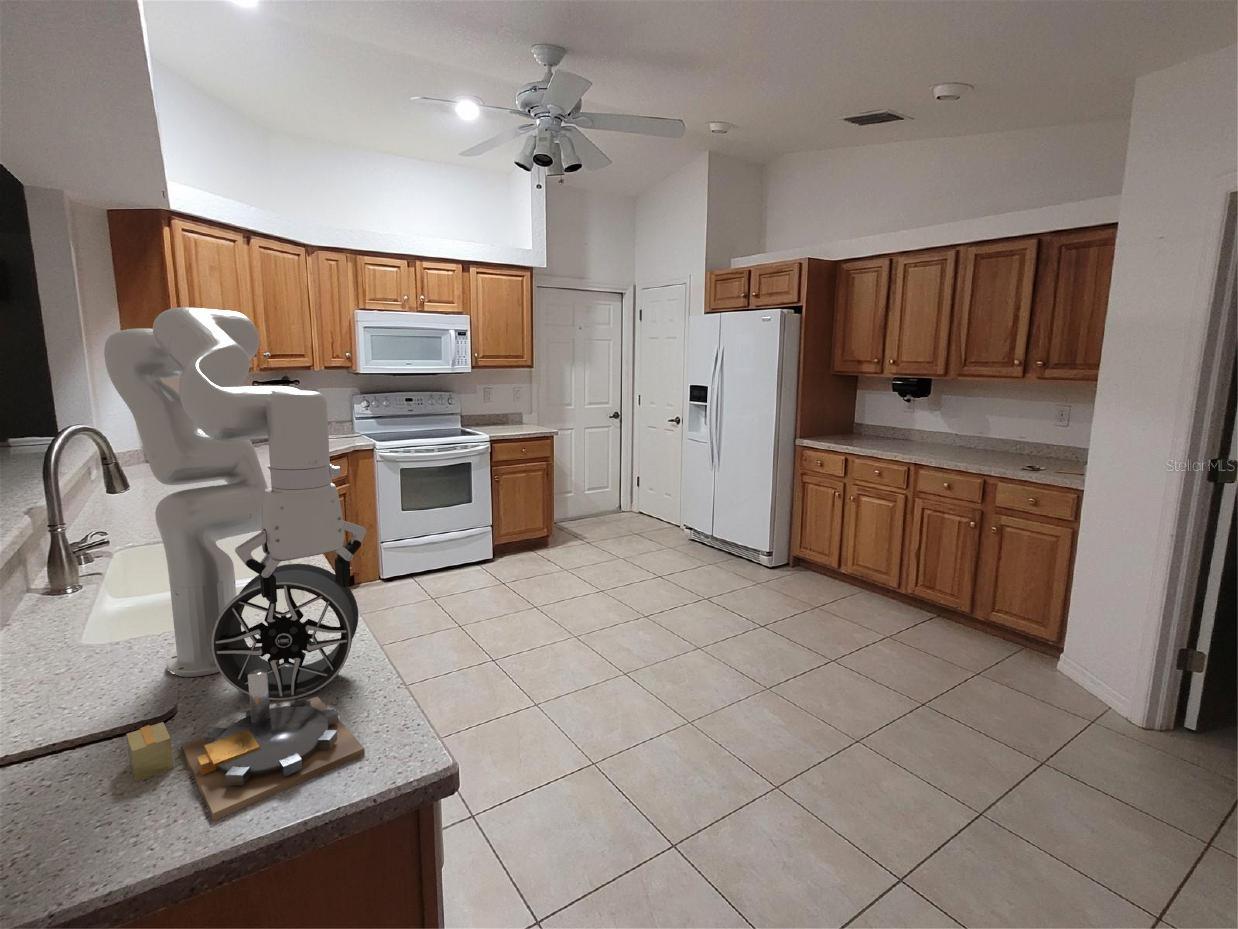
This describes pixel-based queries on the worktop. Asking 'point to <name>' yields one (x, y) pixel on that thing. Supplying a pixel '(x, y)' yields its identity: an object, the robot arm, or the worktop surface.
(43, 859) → the worktop surface
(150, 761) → the tan block with orange
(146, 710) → the worktop surface
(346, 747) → the sprocket base
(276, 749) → the sprocket
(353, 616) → the wheel rim
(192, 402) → the robot arm
